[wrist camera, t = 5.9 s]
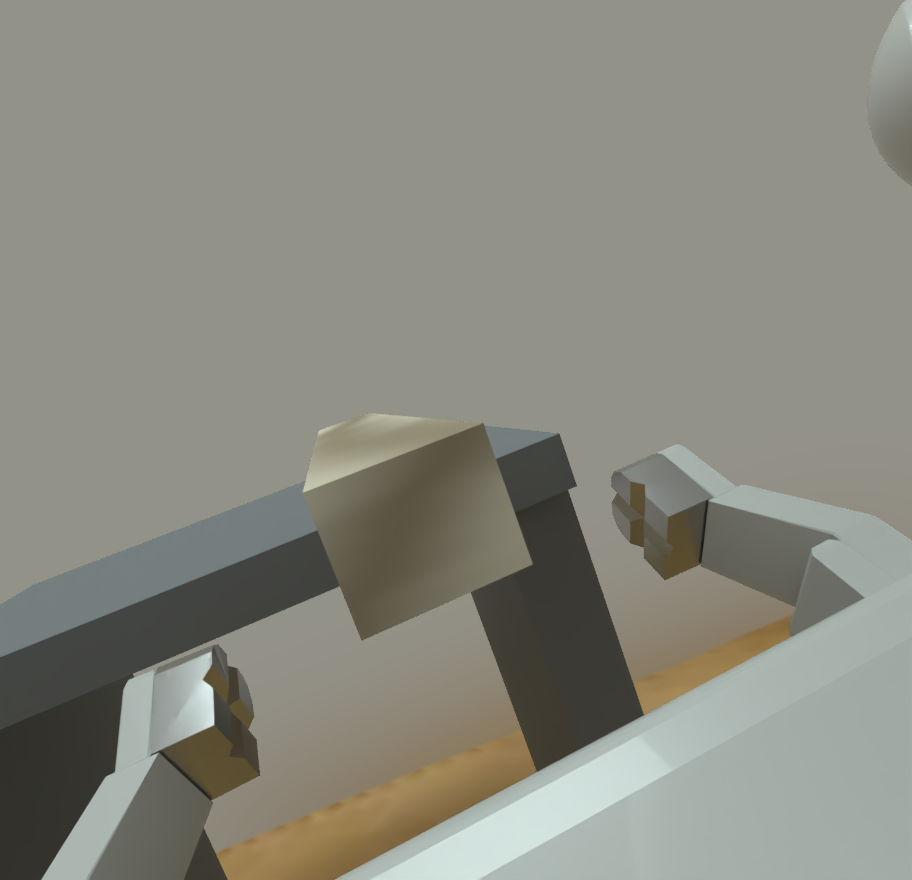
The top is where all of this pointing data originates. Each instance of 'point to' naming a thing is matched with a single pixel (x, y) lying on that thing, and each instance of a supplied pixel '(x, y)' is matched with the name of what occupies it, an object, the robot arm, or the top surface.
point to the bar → (410, 514)
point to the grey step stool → (256, 597)
